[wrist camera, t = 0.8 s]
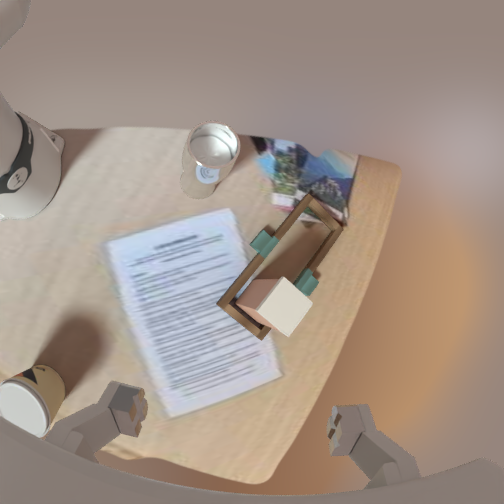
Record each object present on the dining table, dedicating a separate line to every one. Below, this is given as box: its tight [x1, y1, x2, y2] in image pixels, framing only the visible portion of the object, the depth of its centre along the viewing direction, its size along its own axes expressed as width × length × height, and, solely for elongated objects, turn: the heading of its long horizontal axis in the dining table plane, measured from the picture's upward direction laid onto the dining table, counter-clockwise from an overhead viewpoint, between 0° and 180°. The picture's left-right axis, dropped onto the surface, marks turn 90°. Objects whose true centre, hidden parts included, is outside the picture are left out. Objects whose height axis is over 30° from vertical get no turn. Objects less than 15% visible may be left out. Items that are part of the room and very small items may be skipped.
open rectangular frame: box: [216, 194, 344, 340], centre depth 50 cm, size 13×25×2 cm, turn 139°
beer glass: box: [180, 121, 240, 199], centre depth 41 cm, size 7×7×15 cm
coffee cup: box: [0, 365, 65, 438], centre depth 31 cm, size 9×9×12 cm
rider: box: [235, 277, 313, 337], centre depth 43 cm, size 5×5×13 cm
